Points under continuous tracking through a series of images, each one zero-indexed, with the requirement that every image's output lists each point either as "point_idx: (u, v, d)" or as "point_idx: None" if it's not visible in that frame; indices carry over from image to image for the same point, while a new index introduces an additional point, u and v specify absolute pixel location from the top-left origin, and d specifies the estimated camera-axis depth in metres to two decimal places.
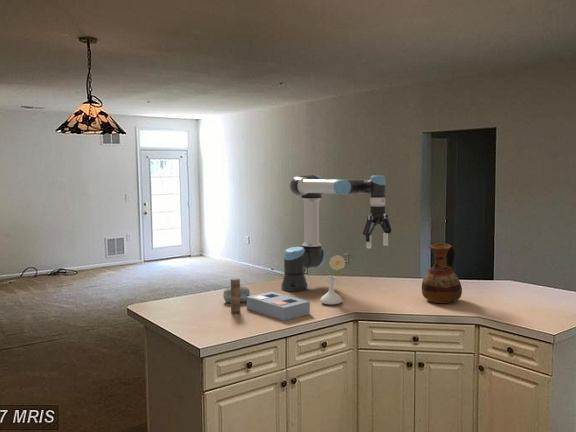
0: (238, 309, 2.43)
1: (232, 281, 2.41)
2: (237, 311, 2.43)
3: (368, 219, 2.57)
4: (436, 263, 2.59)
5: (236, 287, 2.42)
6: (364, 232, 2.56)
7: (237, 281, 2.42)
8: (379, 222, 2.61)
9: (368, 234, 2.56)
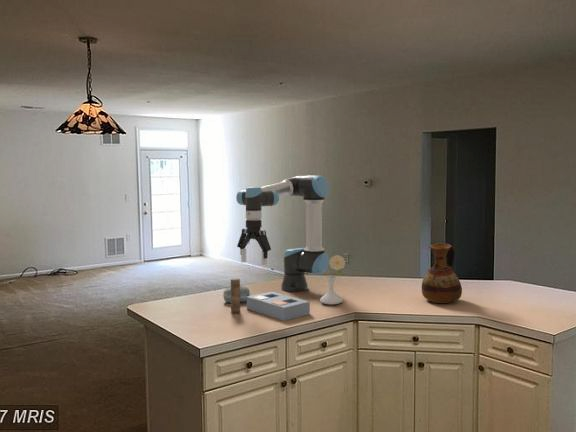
0: (238, 309, 2.43)
1: (232, 281, 2.41)
2: (237, 311, 2.43)
3: None
4: (436, 263, 2.59)
5: (236, 287, 2.42)
6: None
7: (237, 281, 2.42)
8: (252, 237, 2.43)
9: (240, 247, 2.49)
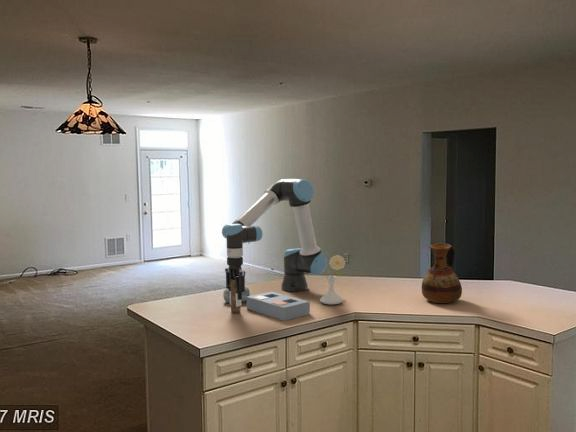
0: (238, 309, 2.43)
1: (232, 281, 2.41)
2: (237, 311, 2.43)
3: None
4: (436, 263, 2.59)
5: None
6: None
7: None
8: (233, 274, 2.42)
9: (228, 289, 2.46)
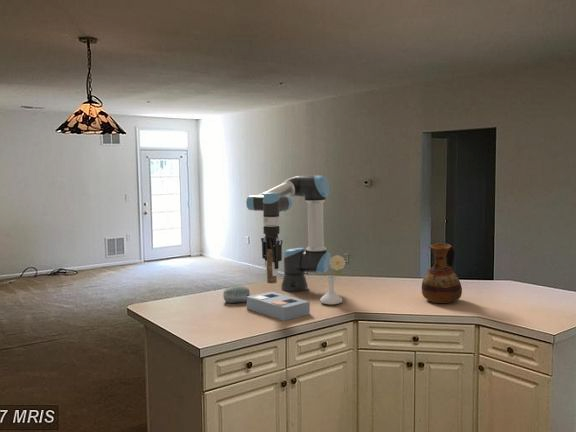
0: (274, 279, 2.40)
1: (269, 250, 2.39)
2: (273, 281, 2.40)
3: None
4: (436, 263, 2.59)
5: None
6: None
7: None
8: (270, 243, 2.39)
9: None
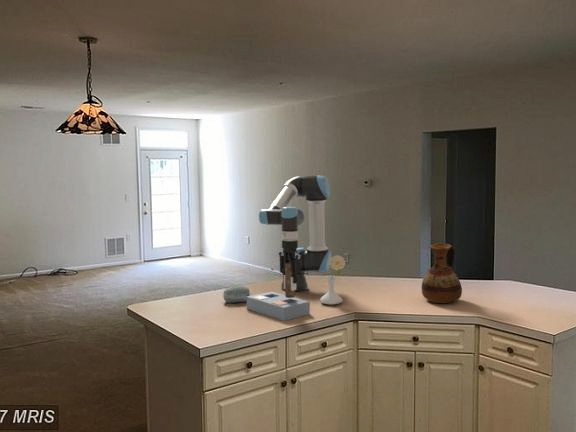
0: (293, 293, 2.40)
1: (287, 265, 2.38)
2: (292, 295, 2.40)
3: None
4: (436, 263, 2.59)
5: (291, 271, 2.38)
6: None
7: None
8: (288, 258, 2.39)
9: (282, 273, 2.43)
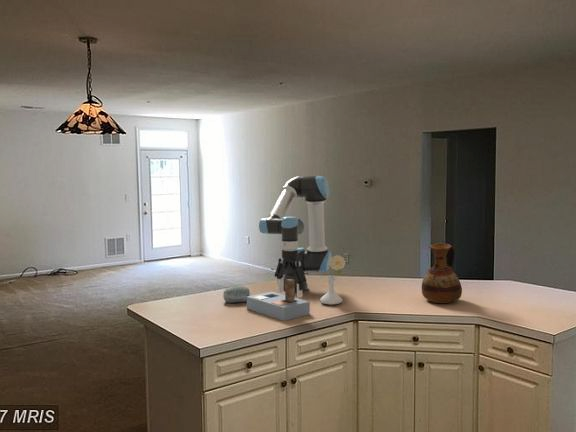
0: None
1: (287, 282, 2.39)
2: None
3: None
4: (436, 263, 2.59)
5: (291, 288, 2.39)
6: None
7: (292, 282, 2.39)
8: (288, 268, 2.39)
9: (277, 277, 2.46)
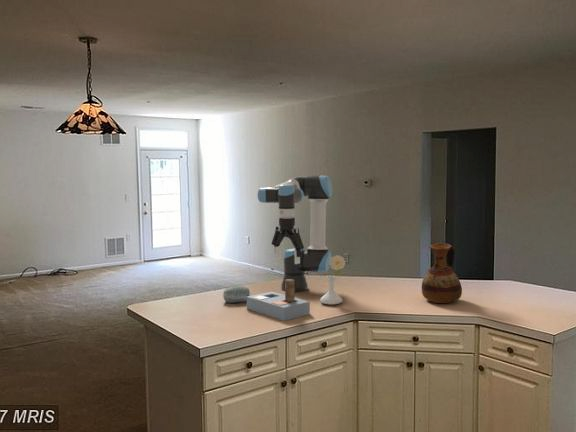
0: None
1: (287, 282, 2.39)
2: None
3: None
4: (436, 263, 2.59)
5: (291, 288, 2.39)
6: None
7: (292, 282, 2.39)
8: (285, 235, 2.42)
9: (274, 244, 2.49)
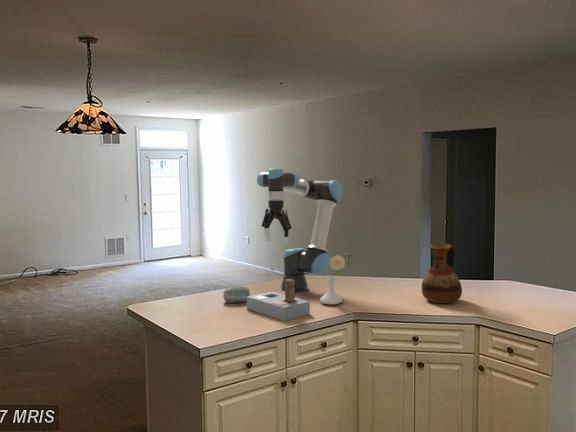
0: None
1: (287, 282, 2.39)
2: None
3: None
4: (436, 263, 2.59)
5: (291, 288, 2.39)
6: None
7: (292, 282, 2.39)
8: (274, 217, 2.54)
9: (264, 226, 2.61)
